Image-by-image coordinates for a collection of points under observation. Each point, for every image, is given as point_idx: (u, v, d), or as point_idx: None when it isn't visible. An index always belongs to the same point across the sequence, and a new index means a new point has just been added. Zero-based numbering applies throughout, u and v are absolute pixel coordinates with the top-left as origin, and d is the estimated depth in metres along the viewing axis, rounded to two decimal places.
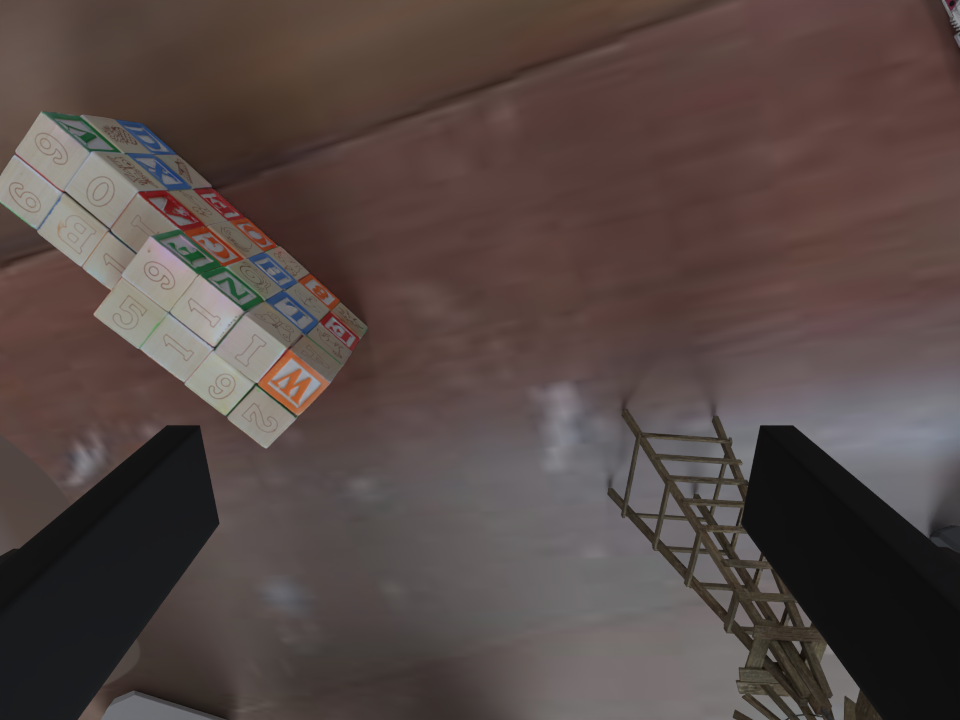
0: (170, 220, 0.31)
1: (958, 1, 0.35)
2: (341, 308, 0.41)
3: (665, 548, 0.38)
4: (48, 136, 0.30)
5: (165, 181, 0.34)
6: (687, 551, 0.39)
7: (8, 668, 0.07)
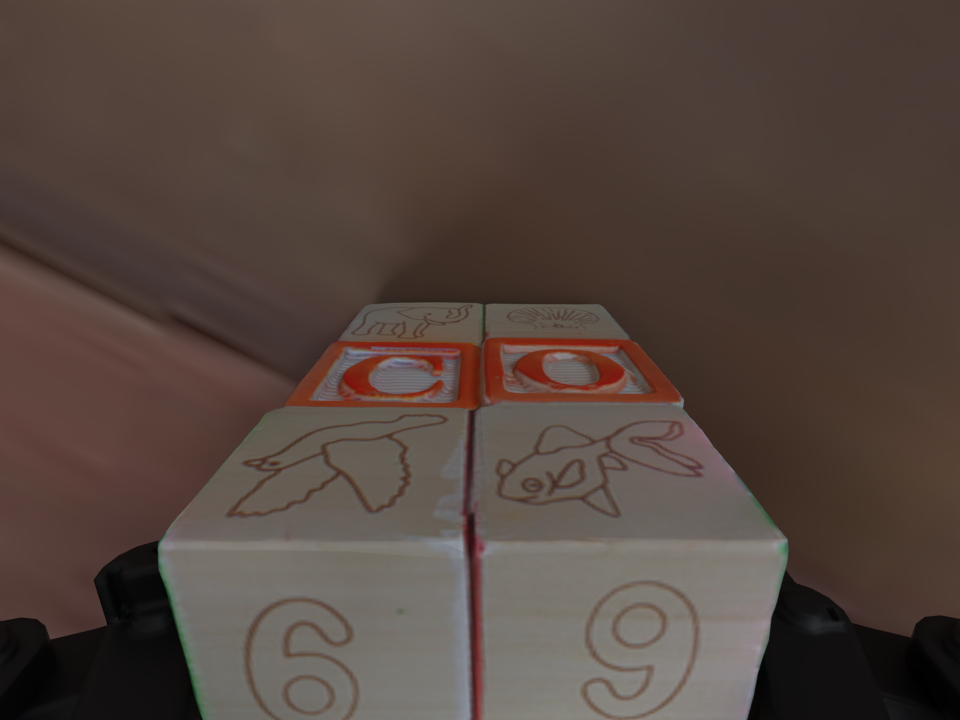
0: None
1: None
2: None
3: None
4: (686, 623, 0.05)
5: None
6: None
7: None
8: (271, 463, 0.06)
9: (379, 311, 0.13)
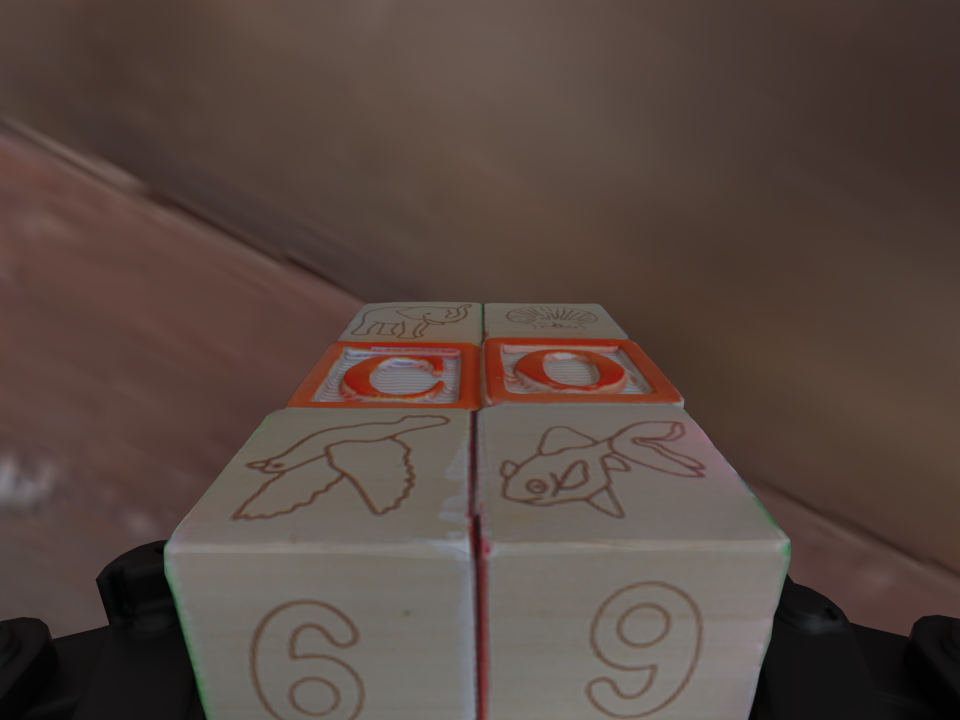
0: None
1: None
2: None
3: None
4: (690, 622, 0.05)
5: None
6: None
7: None
8: (275, 465, 0.06)
9: (378, 311, 0.13)
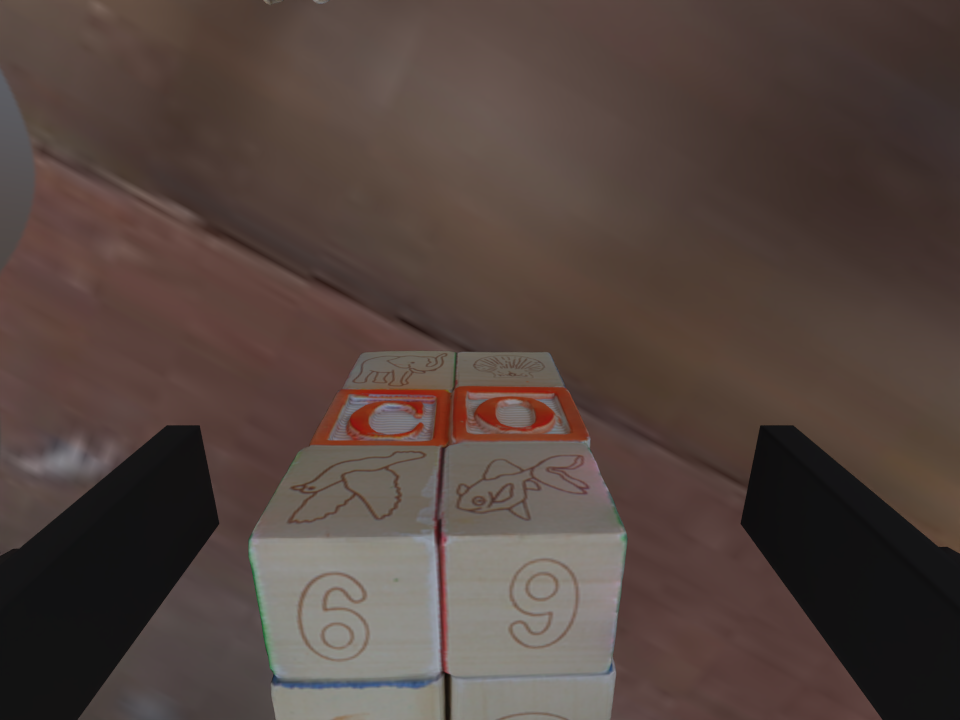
0: None
1: None
2: None
3: None
4: (570, 584, 0.09)
5: None
6: None
7: (8, 669, 0.07)
8: (309, 488, 0.10)
9: (373, 360, 0.16)
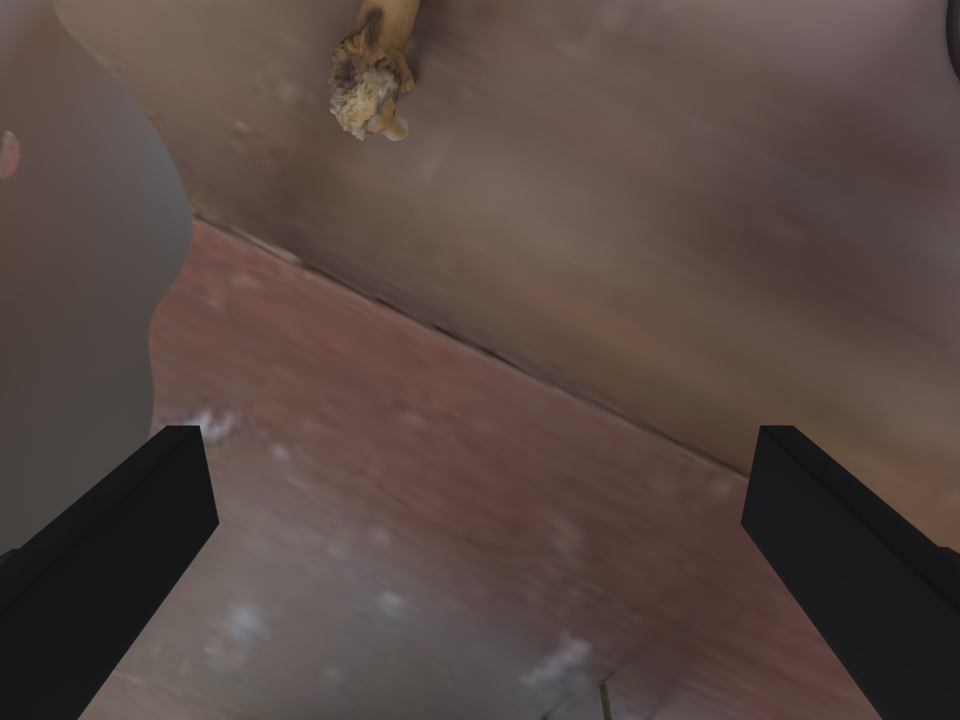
0: None
1: None
2: None
3: None
4: None
5: None
6: None
7: (8, 669, 0.07)
8: None
9: None
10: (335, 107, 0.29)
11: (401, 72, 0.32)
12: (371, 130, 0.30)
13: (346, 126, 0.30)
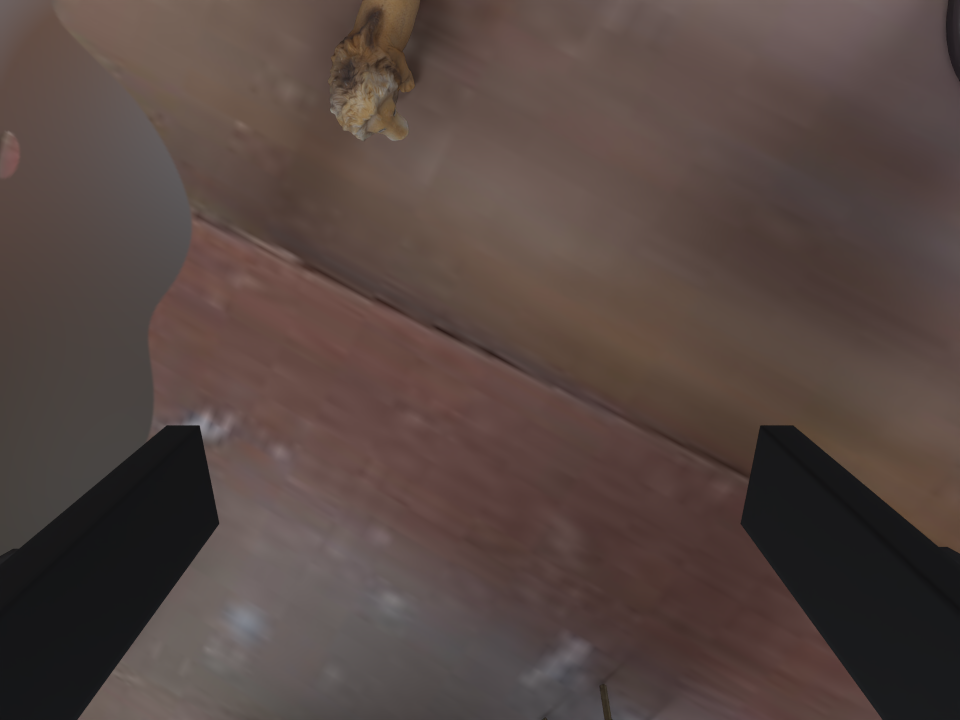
0: None
1: None
2: None
3: None
4: None
5: None
6: None
7: (8, 669, 0.07)
8: None
9: None
10: (335, 107, 0.29)
11: (401, 72, 0.32)
12: (371, 130, 0.30)
13: (346, 126, 0.30)
